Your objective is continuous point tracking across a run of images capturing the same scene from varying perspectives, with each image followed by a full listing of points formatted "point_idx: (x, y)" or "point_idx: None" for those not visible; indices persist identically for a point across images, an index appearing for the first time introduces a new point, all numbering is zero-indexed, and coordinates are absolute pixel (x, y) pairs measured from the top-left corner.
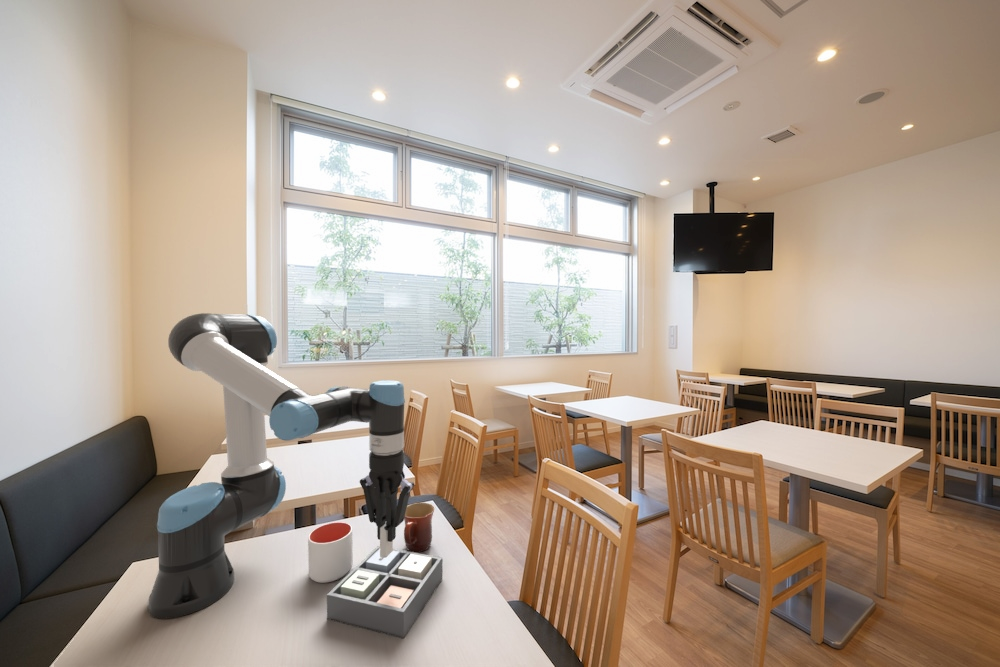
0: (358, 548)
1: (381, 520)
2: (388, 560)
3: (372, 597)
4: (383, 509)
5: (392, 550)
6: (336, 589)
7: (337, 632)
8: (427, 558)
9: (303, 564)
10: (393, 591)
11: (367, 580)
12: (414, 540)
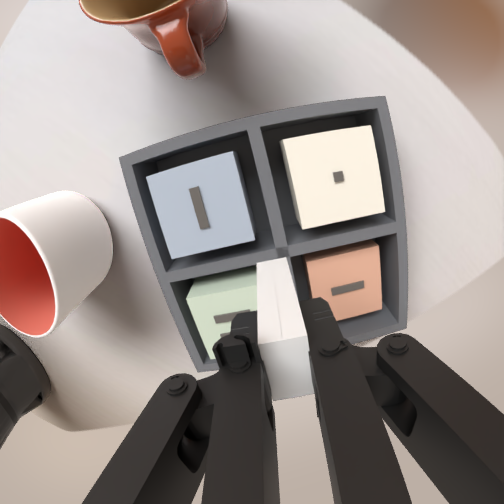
0: (51, 139)
1: (274, 425)
2: (235, 213)
3: None
4: (272, 472)
5: (286, 259)
6: (199, 354)
7: None
8: (360, 134)
9: None
10: (330, 277)
11: None
12: (200, 43)
